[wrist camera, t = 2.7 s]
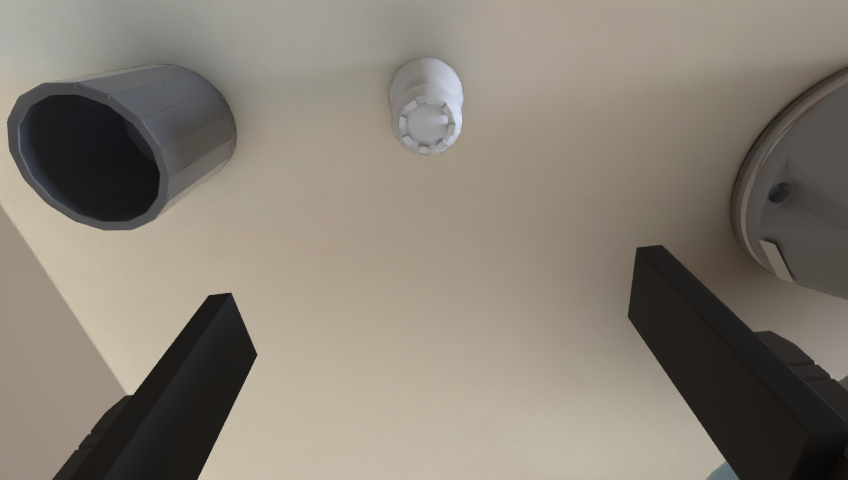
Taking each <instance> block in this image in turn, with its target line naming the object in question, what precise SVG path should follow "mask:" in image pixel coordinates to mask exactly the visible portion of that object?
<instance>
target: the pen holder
mask: <svg viewBox="0 0 848 480" xmlns="http://www.w3.org/2000/svg"><path fill="white" fill-rule="evenodd" d="M7 127H8V141H9V149H10V152H11V154H12V156H13V159H14V161H15V163H16V165H17V167H18V169H19V171H20V173H21V175H22V177H23V178H24V180H25V181H26V182H27V183H28V184H29V185H30V186H31V187H32V188H33V189H34V190H35V192H36V193H37V194H38V195H39V196H40V197H41V198H42V199H43V200H44V201H45V202H46V203H47V204H48V205H50V206H51V207H53V208H55V209H56V210H58V211H59V212H61V213H63V214H64V215H66V216H67V217H69V218H70V219H72V220H74V221H76V222H79V223H82V224H85V225H89V226H92V227H95V228H98V229H102V230H133V229H136V228H138V227H140V226H142V225H145V224H147V223H149V222H151V221H153V220H155V219H156V218H158V217H159V216H160V215H162V214H163V213H164V212H166V211H167V210H168V209H170V208H171V207H172V206H174V205H175V204H176V203H177V202H179V201H180V200H181V199H183V198H184V197H185V196H187V195H188V194H189V193H191V192H192V191H193V190H195V189H196V188H197V187H199V186H200V185H201V184H203V183H204V182H205V181H207V180H208V179H209V178H211V177H212V176H213V175H215V174H216V173H217V172H218V171H219V170H220V169H221V168H222V167H223V166H224V165H225V164H226V163H227V162H228V161H229V159H230V157H231V156H232V153H233V151H234V148H235V143H236V128H235V122H234V119H233V116H232V113H231V111H230V108H229V107H228V105H227V103H226V101H225V100H224V98H223V97H222V96H221V94H220V93H219V92H218V91H217V90H216V89H215V87H213V86H212V85H211V84H210V83H209V82H208V81H207V80H205V79H204V78H203V77H201V76H199V75H198V74H196V73H194V72H192V71H190V70H188V69H186V68H182V67H179V66H175V65H169V64H158V65H145V66H139V67H133V68H127V69H122V70H116V71H110V72H104V73H99V74H93V75H87V76H81V77H76V78H70V79H64V80H58V81H52V82H47V83H42V84H40V85H39V86H37V87H35V88H33V89H31V90H30V91H28V92H26V93H24V94H23V95H21V96H19V98H18V99H17V101H16V103H15V105H14V107H13V109H12V111H11V113H10V116H9V118H8V121H7Z"/></svg>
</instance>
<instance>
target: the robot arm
mask: <svg viewBox="0 0 848 480" xmlns="http://www.w3.org/2000/svg"><path fill="white" fill-rule="evenodd" d="M731 220H732V226H733V230H734V233H735V236H736V238H737V240H738V242H739V244H740V246H741V247H742V249H743V250H744V251H745V252H746V253H747V254H748V255H749V256H750V257H751V258H752V259H753V260H755V261H756V262H757V263H759V264H760V265H761V266H763V267H764V268H765V269H767V270H768V271H770V272H771V273H773V274H775V275H777V277H778V278H780V279H783V280H786V281H788V282H791V283H795V284H797V285H800V286H804V287H807V288H810V289H813V290H817V291H820V292H823V293H826V294H830V295H833V296H836V297H839V298H843V299H846V300H848V69H845V70H843V71H841V72H839V73H837V74H835V75H833V76H831V77H829V78H828V79H826V80H825V81H823V82H821V83H820V84H818V85H816V86H815V87H813V88H812V89H811V90H809V91H808V92H806V93H805V94H803V95H802V96H801V97H800V98H799V99H797V100H796V101H795V102H794V103H792V104H791V105H790V106H789V107H788V108H787V109H786V110H785V111H784V112H782V113H781V114H780V115H779V116H778V117H777V118H776V120H775V121H774V122H773V123H772V124H771V125H770V126H769V127H768V128H767V130H766V131H765V132H764V133H763V134H762V136H761V137H760V138H759V140H758V141H757V143H756V144H755V145H754V147H753V148H752V150H751V152H750V153H749V155H748V157H747V158H746V160H745V162H744V164H743V166H742V168H741V171H740V173H739V176H738V178H737V181H736V184H735V188H734V192H733V197H732V204H731ZM628 318H629V320H630V321H631V322H632V324H633V325H634V327H635V328H636V330H637V331H638V333H639V334H640V336H641V337H642V339H643V340H644V341H645V343H646V344H647V346H648V347H649V349H650V350H651V352H652V353H653V355H654V356H655V357H656V359H657V360H658V362H659V363H660V365H661V366H662V368H663V369H664V371H665V372H666V373H667V375H668V376H669V378H670V379H671V381H672V382H673V384H674V385H675V387H676V388H677V390H678V391H679V392H680V394H681V395H682V397H683V398H684V400H685V401H686V403H687V404H688V406H689V407H690V408H691V410H692V411H693V413H694V414H695V416H696V417H697V419H698V420H699V422H700V423H701V424H702V426H703V427H704V429H705V430H706V432H707V433H708V435H709V436H710V438H711V439H712V441H713V442H714V443H715V445H716V446H717V448H718V449H719V451H720V452H721V454H722V455H723V457H724V458H725V459H726V462H725V463H723V464H722V465H721V466H720V467H718V468H717V469H716V470H715V471H713V472H712V473H711V475H710V476H709V477H708V478H707V480H848V376H846V377H845V378H843V379H842V380H840V381H839V382H837V381H836V380H835V379H831V378H830V375H829V374H828V373H827V372H826V371H825V370H824V369H822V368H821V367H820V366H819V365H815V364H814V361H813V360H812V359H811V358H810V357H809V356H808V355H807V354H805V353H804V352H803V351H802V350H801V349H800V348H799V347H797V346H796V345H795V344H793V343H792V342H790V341H788V340H786V339H784V338H782V337H780V336H779V335H777V334H775V333H773V332H771V331H763V332H753V331H752V330H751V329H750V328H749V327H748V326H746V325H745V324H744V323H743V322H742V321H741V320H740V319H739V318H738V317H737V316H736V315H735V314H734V313H733V312H732V311H731V310H730V309H729V308H728V307H727V306H725V305H724V304H723V303H722V302H721V301H720V300H719V299H718V298H717V297H716V296H715V295H714V294H713V293H712V292H711V291H710V290H709V289H708V288H707V287H705V286H704V285H703V284H702V283H701V282H700V281H699V280H698V279H697V278H696V277H695V276H694V275H693V274H692V273H691V272H690V271H689V270H688V269H687V268H686V267H684V266H683V265H682V264H681V263H680V262H679V261H678V260H677V259H676V258H675V257H674V256H673V255H672V254H671V253H670V252H669V251H668V250H667V249H666V248H665V247H663V246H662V245H656V246H647V247H638V248H637V249H636V257H635V265H634V273H633V280H632V288H631V296H630V303H629V311H628ZM256 357H257V353H256V350H255V348H254V346H253V343H252V341H251V339H250V336H249V334H248V331H247V329H246V327H245V324H244V322H243V319H242V317H241V315H240V312H239V310H238V308H237V305H236V303H235V300H234V298H233V296H232V293H224V294H216V295H209V296H208V297H207V298H206V300H205V301H204V302H203V304H202V305H201V306H200V308H199V309H198V310H197V312H196V313H195V314H194V316H193V317H192V318H191V319H190V321H189V322H188V323H187V325H186V326H185V327H184V329H183V330H182V331H181V333H180V334H179V335H178V337H177V338H176V339H175V341H174V342H173V343H172V345H171V346H170V347H169V348H168V350H167V351H166V352H165V354H164V355H163V356H162V358H161V359H160V360H159V362H158V363H157V364H156V366H155V367H154V368H153V370H152V371H151V372H150V374H149V375H148V376H147V377H146V379H145V380H144V381H143V383H142V384H141V385H140V387H139V388H138V389H137V391H136V392H135V393H134V395H128V396H125V397H123V398H122V399H121V400H120V401H119V402H117V403H116V404H115V405H114V406H113V407H112V408H110V409H109V410H108V411H107V412H106V413H105V414H104V415H103V416H102V418H101V419H100V420H99V422H98V423H97V424H96V425H95V426H94V428H93V429H92V430H91V434H89V435H87V436H86V438H85V439H84V440H83V441H82V443H81V444H80V445H79V449H78V450H75V451H74V453H73V454H72V455H71V457H70V458H69V459H68V460H67V462H66V463H65V464H64V465H63V467H62V468H61V469H60V471H59V472H58V473H57V474H56V475H55V477H54V478H53V479H52V480H197V479H198V477H199V475H200V473H201V471H202V469H203V467H204V465H205V463H206V461H207V459H208V456H209V454H210V452H211V450H212V448H213V446H214V444H215V442H216V440H217V438H218V436H219V434H220V432H221V430H222V427H223V425H224V423H225V421H226V419H227V417H228V415H229V413H230V411H231V409H232V407H233V405H234V403H235V400H236V398H237V396H238V394H239V392H240V390H241V388H242V386H243V384H244V382H245V380H246V378H247V376H248V374H249V371H250V369H251V367H252V365H253V363H254V361H255V359H256Z"/></svg>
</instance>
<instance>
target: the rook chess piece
mask: <svg viewBox="0 0 848 480" xmlns="http://www.w3.org/2000/svg"><path fill="white" fill-rule="evenodd" d="M462 102H463V92H462V87H461V82H460V79H459V78H458V76H457V75H456V73H455V72H454V70H453V69H452V68H451V67H450V66H448V65H447V64H445V63H444V62H442V61H441V60H439V59H433V58H427V57H423V58H419V59H415V60H412V61H409V62H408V63H407V64H405V65H404V66H403V67H402V68H401V69H399V70H398V71H397V73H396V75H395V77H394V79H393V81H392V83H391V86H390V95H389V103H390V107H391V110H392V114H393V116H392V126H393V130H394V133H395V137H396V138H397V139H398V140H399V142H400V143H401V144H402V146H403V147H404V148H406V149H408V150H409V151H411V152H413V153H415V154H419V155H426V156H430V155H434V154H438V153H442V152H443V151H445V150H446V149H447V148H449V147H450V146H452V145H453V143H454V142H455V140H456V139H457V137H458V135H459V134H460V130H461V124H462V115H461V108H462Z"/></svg>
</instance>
